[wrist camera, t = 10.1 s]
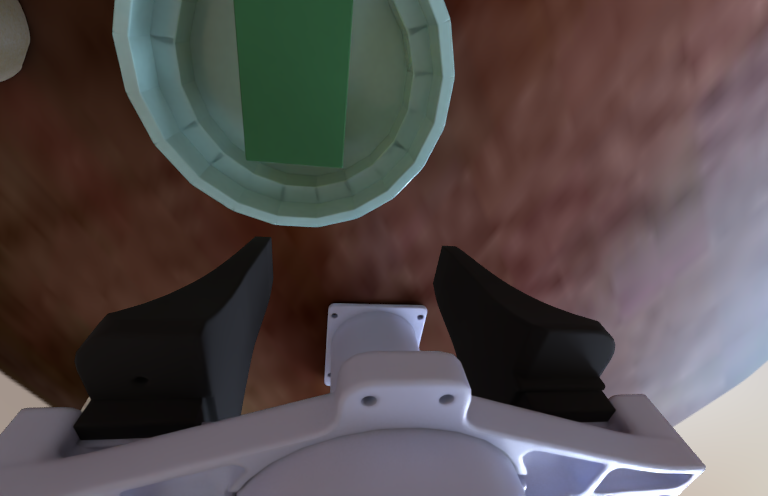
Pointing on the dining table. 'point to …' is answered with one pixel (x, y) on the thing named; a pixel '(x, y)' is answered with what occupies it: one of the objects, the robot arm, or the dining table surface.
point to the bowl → (224, 110)
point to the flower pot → (12, 38)
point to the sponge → (294, 79)
